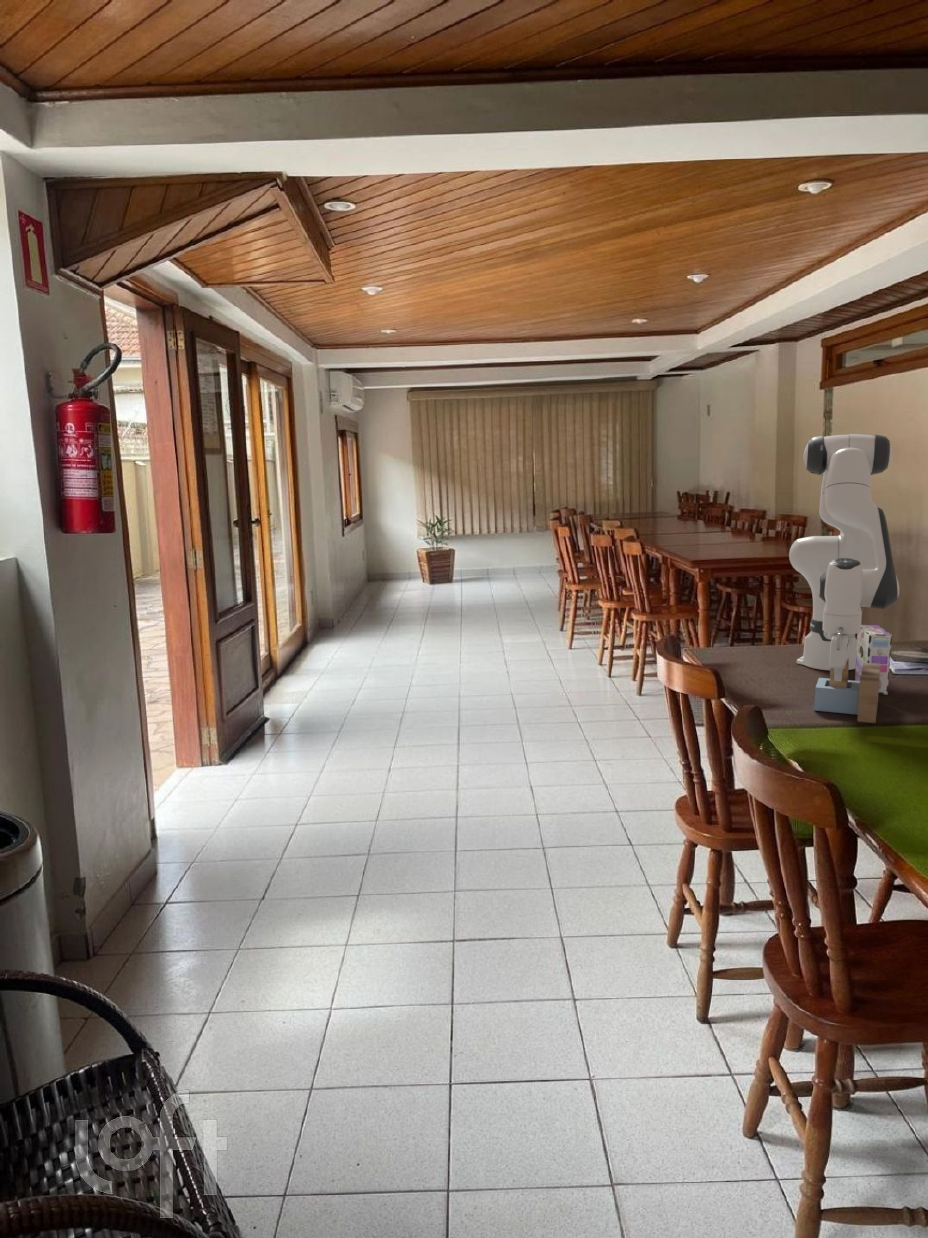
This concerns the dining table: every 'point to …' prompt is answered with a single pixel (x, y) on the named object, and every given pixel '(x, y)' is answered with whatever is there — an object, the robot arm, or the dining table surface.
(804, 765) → the dining table surface
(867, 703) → the wall
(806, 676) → the dining table surface
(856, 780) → the dining table surface
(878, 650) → the candy box
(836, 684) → the tan wooden block
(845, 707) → the socket block
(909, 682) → the dining table surface
